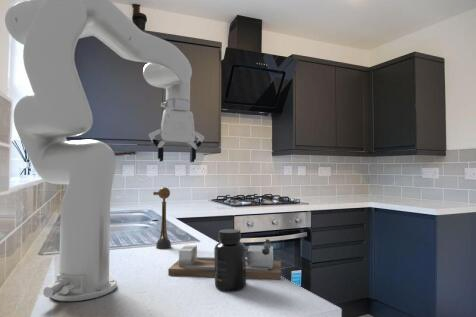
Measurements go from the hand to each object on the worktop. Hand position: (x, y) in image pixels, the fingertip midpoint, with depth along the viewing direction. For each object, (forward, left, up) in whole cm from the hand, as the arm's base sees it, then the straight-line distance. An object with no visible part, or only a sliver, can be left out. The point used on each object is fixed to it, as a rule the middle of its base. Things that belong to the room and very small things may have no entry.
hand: (176, 161), depth 100 cm
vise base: (-16, -18, -28) cm, 37 cm away
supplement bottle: (-27, -21, -29) cm, 44 cm away
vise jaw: (-16, -27, -27) cm, 41 cm away
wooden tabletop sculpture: (+7, +7, -29) cm, 30 cm away
